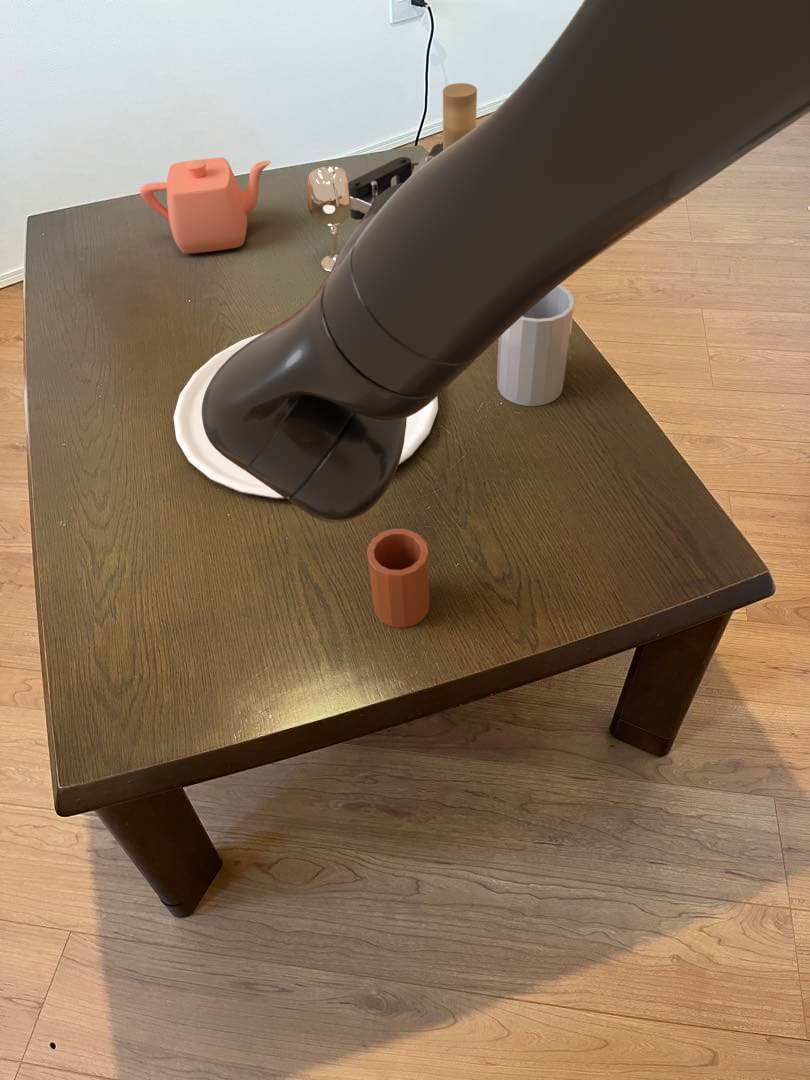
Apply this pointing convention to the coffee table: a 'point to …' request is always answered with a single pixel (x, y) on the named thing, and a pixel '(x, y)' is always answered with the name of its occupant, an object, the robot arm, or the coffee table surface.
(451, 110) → the light brown wooden rod
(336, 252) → the wineglass
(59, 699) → the coffee table surface
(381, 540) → the holder
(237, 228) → the teapot
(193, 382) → the plate
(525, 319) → the grey faceted cup
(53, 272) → the coffee table surface
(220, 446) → the robot arm
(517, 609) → the coffee table surface
